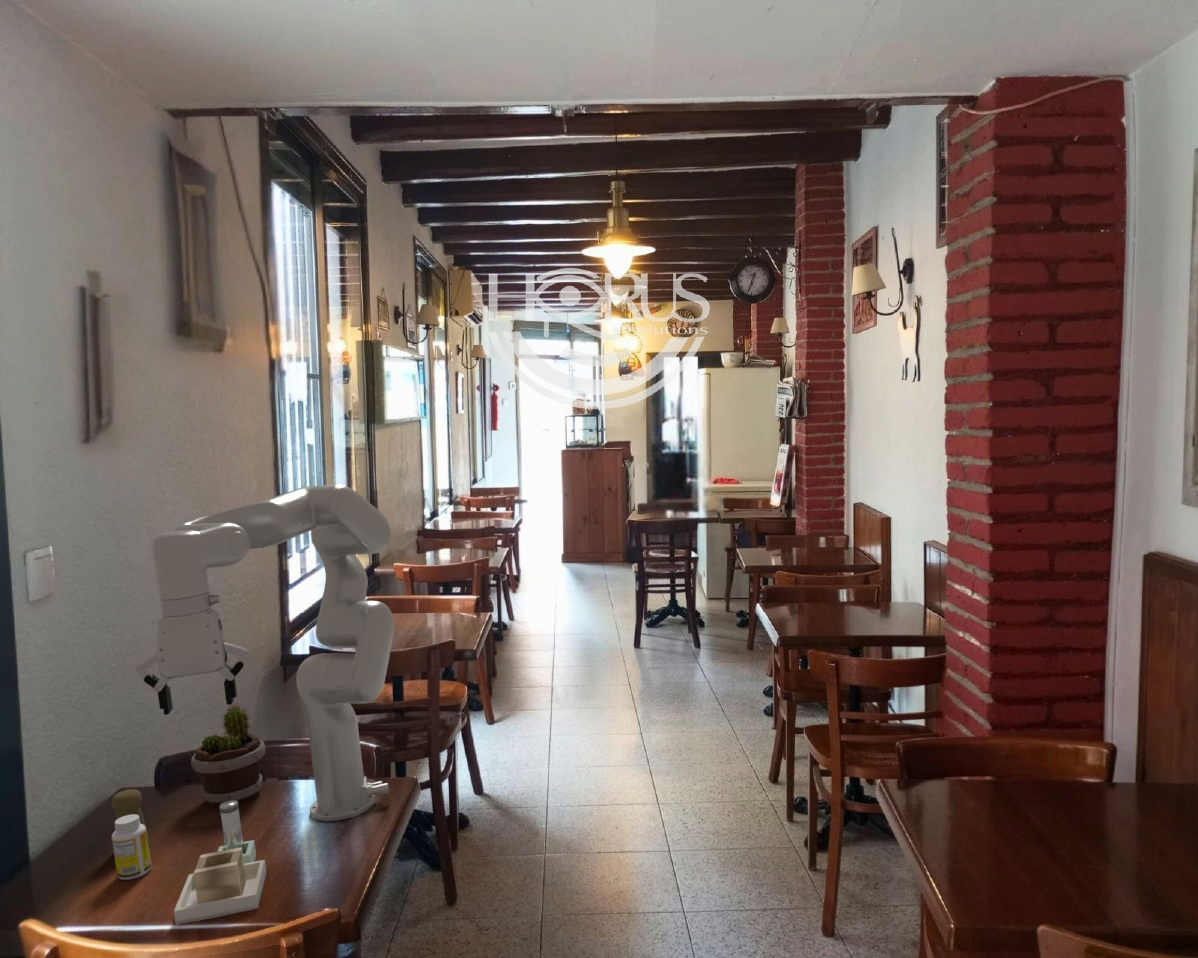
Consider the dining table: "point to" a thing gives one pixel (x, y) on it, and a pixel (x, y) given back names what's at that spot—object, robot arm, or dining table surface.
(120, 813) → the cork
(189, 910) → the tray
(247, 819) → the dining table surface
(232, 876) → the maple block
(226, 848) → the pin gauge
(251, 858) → the socket
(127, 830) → the supplement bottle
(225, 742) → the flowerpot
